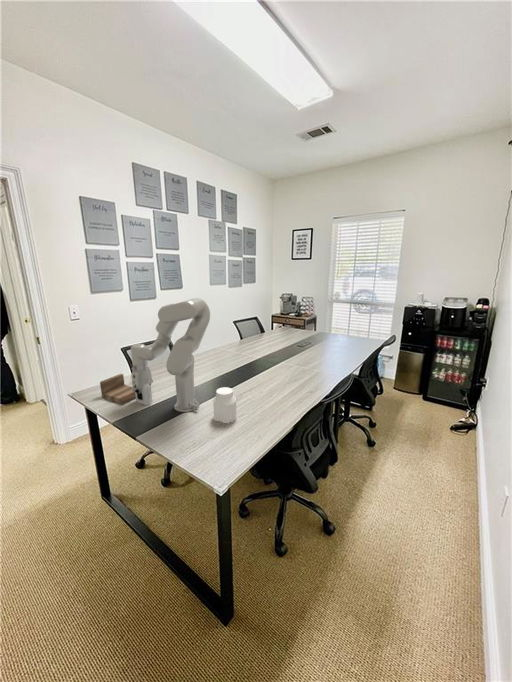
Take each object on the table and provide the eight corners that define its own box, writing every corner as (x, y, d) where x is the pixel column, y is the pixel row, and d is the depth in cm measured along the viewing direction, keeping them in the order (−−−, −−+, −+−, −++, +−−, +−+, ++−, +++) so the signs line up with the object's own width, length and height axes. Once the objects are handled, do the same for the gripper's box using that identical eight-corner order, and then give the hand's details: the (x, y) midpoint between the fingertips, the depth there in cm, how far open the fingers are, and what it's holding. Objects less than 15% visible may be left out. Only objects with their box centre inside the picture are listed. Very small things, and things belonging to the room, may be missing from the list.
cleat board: (143, 394, 166) (142, 379, 163) (123, 404, 154) (121, 388, 151) (122, 388, 174) (120, 373, 171) (102, 397, 162) (99, 381, 159)
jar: (210, 419, 140) (209, 392, 136) (221, 410, 149) (220, 384, 145) (229, 425, 135) (229, 397, 131) (239, 416, 143) (239, 389, 140)
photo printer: (153, 403, 156) (151, 382, 153) (147, 406, 152) (145, 385, 149) (141, 398, 161) (139, 378, 158) (134, 401, 157) (132, 381, 154)
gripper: (132, 373, 142) (136, 405, 147) (157, 363, 157) (159, 392, 162) (122, 370, 145) (126, 402, 150) (147, 360, 160) (150, 390, 165)
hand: (143, 397), depth 156 cm, fingers closed on photo printer, 4 cm apart
